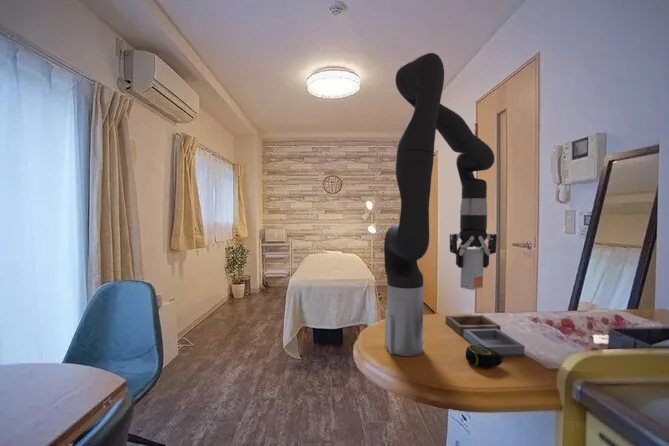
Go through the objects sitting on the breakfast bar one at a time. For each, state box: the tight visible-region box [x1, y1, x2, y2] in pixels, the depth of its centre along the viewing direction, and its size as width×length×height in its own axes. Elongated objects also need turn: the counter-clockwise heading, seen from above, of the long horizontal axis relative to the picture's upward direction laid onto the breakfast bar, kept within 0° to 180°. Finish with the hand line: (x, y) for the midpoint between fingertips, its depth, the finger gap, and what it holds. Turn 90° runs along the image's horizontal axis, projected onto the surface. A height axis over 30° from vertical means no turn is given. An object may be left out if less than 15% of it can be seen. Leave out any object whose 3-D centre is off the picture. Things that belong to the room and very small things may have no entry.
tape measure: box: [465, 344, 503, 369], centre depth 76 cm, size 7×7×4 cm
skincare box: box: [459, 247, 484, 291], centre depth 99 cm, size 6×4×12 cm
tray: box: [463, 329, 525, 358], centre depth 86 cm, size 10×12×2 cm
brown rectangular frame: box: [445, 314, 501, 336], centre depth 99 cm, size 12×10×2 cm
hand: (472, 267), depth 99 cm, fingers closed on skincare box, 7 cm apart
